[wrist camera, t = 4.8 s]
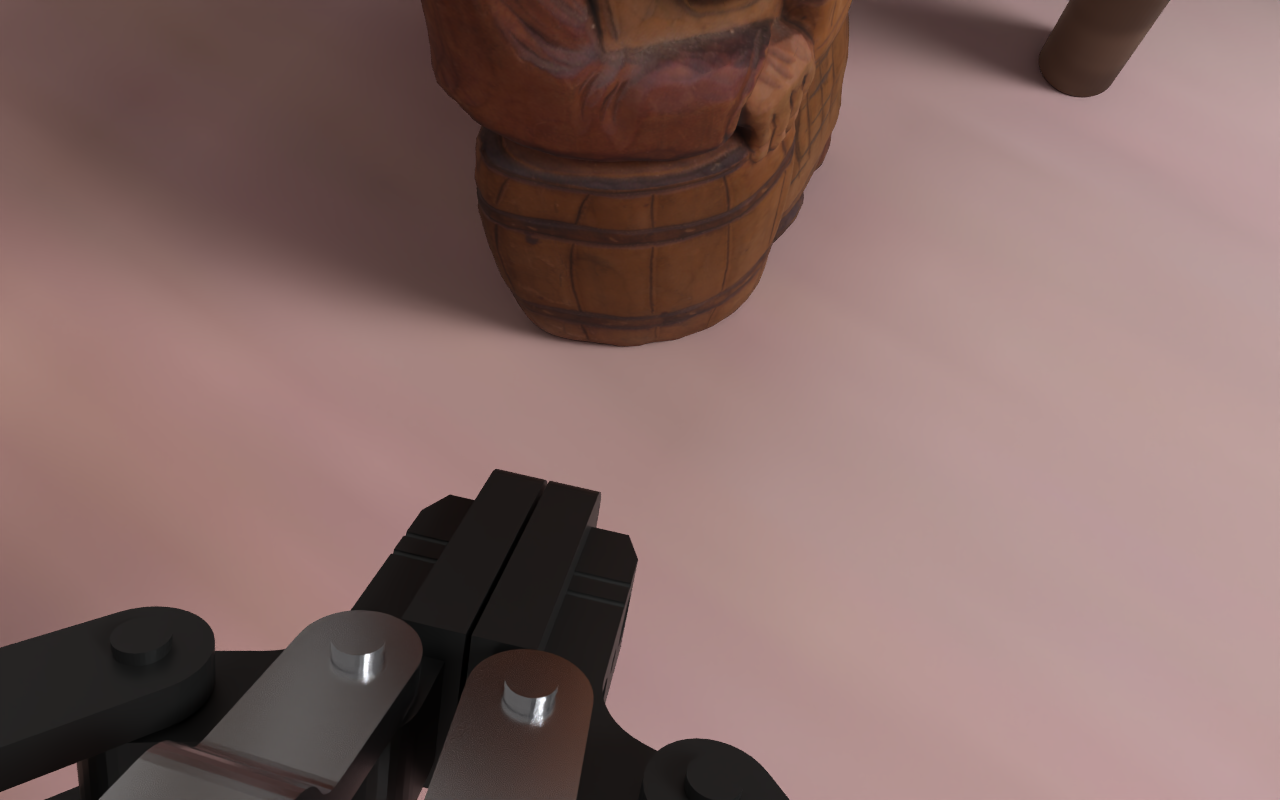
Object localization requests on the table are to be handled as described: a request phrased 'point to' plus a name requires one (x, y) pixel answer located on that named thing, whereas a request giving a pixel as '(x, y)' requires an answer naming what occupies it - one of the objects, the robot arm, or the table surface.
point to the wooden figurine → (640, 148)
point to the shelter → (1095, 43)
